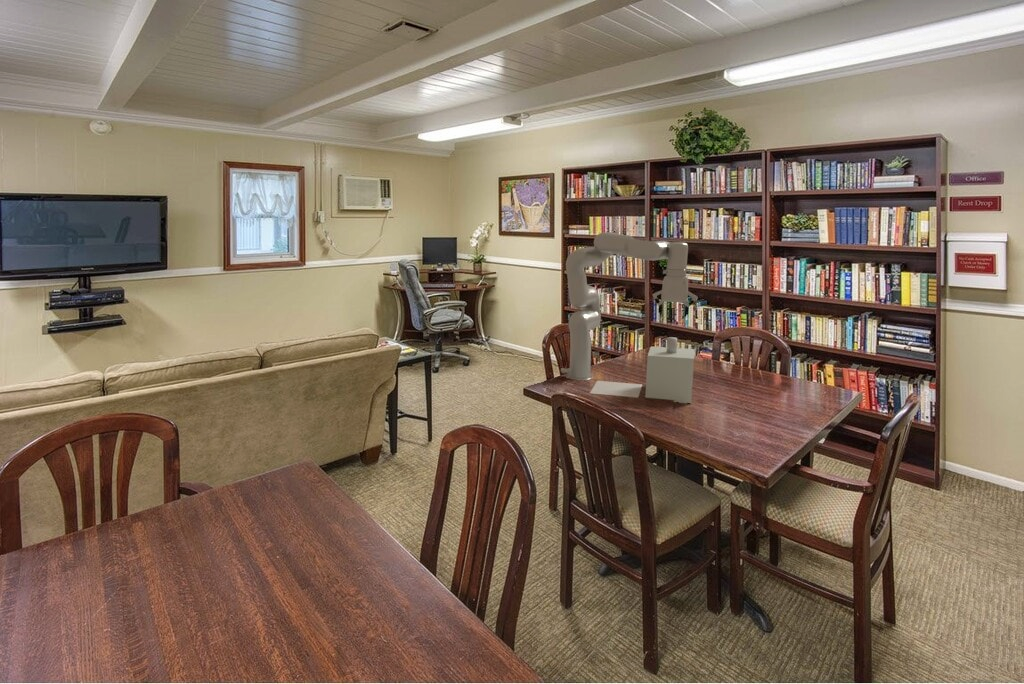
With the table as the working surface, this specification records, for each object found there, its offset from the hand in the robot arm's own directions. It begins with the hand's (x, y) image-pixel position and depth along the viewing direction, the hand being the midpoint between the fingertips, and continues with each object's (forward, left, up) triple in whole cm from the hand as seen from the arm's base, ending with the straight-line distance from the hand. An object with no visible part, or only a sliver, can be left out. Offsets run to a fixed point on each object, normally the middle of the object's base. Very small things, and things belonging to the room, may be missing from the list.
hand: (673, 315), depth 232 cm
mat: (-22, 0, -34) cm, 40 cm away
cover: (0, 0, -34) cm, 34 cm away
